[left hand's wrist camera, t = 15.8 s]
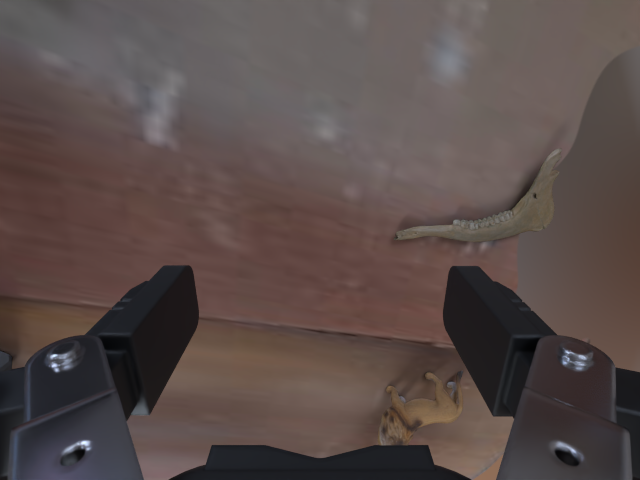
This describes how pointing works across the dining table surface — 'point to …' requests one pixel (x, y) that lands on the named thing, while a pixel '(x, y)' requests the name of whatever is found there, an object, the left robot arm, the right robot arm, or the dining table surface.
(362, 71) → the dining table surface
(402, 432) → the lion figurine
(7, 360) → the handheld gaming console
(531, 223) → the jawbone
